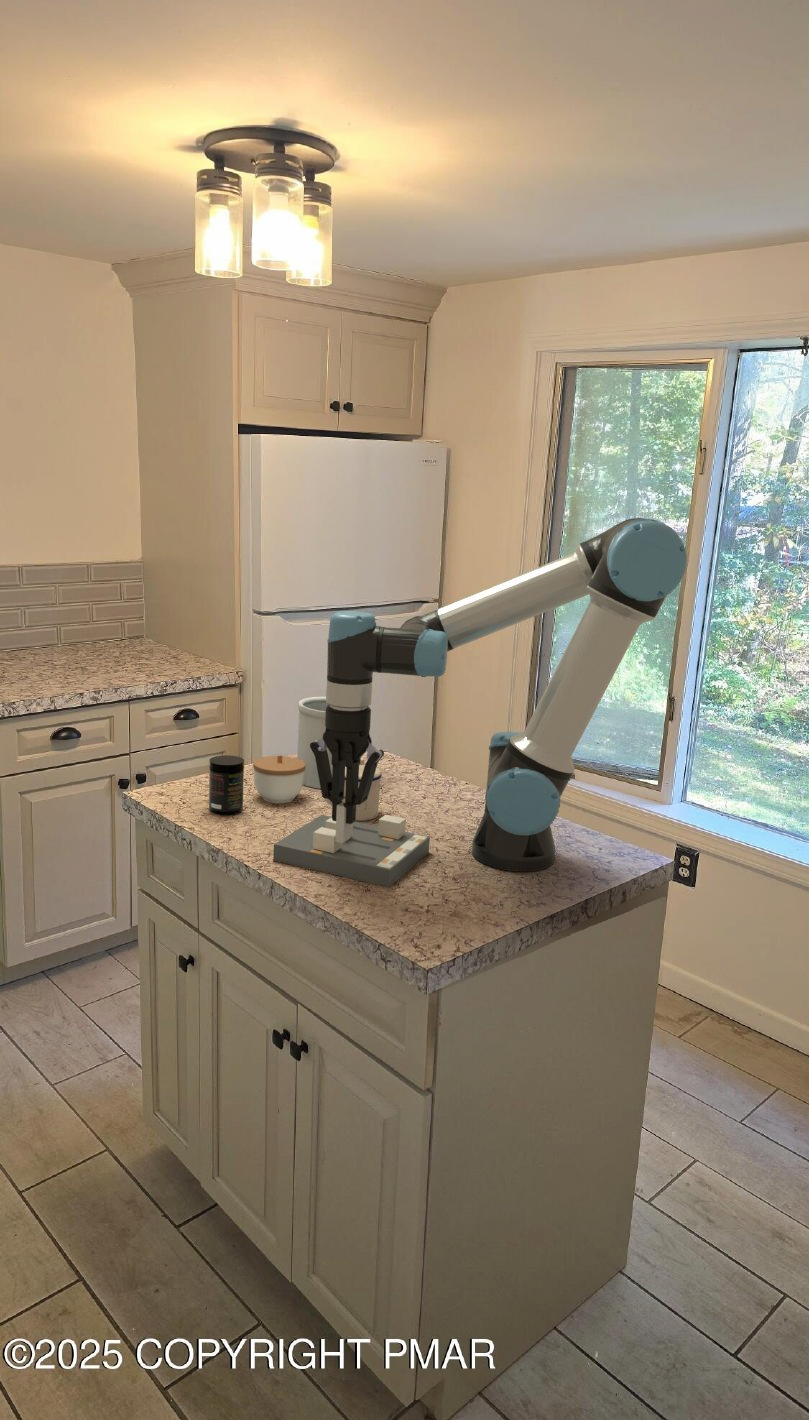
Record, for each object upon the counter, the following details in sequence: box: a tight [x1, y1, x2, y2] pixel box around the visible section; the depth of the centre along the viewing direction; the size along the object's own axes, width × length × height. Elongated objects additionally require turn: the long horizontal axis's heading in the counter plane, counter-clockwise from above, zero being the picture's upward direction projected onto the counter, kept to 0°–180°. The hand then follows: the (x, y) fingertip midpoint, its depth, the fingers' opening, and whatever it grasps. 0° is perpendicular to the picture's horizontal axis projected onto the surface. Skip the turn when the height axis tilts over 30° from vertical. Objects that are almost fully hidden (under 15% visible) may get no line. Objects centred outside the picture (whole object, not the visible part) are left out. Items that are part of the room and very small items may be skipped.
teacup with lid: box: [324, 757, 382, 822], centre depth 193 cm, size 12×9×12 cm
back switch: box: [378, 814, 407, 839], centre depth 176 cm, size 4×3×3 cm
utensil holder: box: [296, 696, 333, 790], centre depth 214 cm, size 15×15×18 cm
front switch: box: [313, 827, 342, 853], centre depth 168 cm, size 4×3×3 cm
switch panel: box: [272, 814, 431, 888], centre depth 173 cm, size 22×18×3 cm
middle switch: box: [325, 816, 353, 838], centre depth 174 cm, size 4×3×3 cm
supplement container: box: [208, 754, 245, 816], centre depth 192 cm, size 7×7×10 cm
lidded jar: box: [252, 754, 306, 805], centre depth 201 cm, size 11×11×9 cm
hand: (342, 839), depth 167 cm, fingers closed
